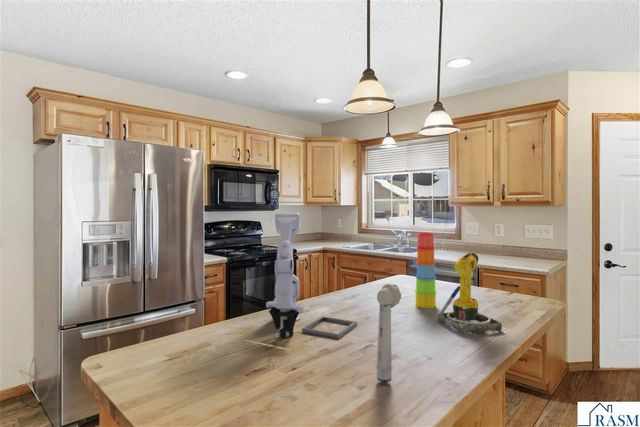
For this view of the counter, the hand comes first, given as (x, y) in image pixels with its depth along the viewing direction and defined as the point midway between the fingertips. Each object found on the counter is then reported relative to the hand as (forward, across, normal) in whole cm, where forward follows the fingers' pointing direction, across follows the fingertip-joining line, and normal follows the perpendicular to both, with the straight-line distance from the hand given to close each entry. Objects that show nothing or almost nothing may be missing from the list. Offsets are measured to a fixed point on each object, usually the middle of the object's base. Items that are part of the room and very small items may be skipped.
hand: (284, 329), depth 128 cm
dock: (+2, +11, +15) cm, 19 cm away
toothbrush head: (+3, +42, -14) cm, 44 cm away
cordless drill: (+3, +58, +44) cm, 72 cm away
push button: (+2, 0, 0) cm, 2 cm away
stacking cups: (+3, +37, +63) cm, 73 cm away
